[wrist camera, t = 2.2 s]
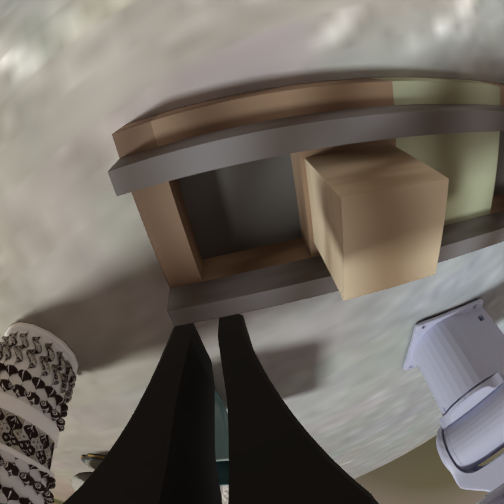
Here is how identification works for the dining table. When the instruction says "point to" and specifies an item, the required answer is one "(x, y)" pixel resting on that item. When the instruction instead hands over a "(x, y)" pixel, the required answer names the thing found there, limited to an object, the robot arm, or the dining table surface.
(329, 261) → the maple block
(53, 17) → the dining table surface
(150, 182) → the trap box
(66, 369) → the black and white cylinder
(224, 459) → the flower pot
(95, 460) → the apothecary jar
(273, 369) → the dining table surface
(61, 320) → the dining table surface
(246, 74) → the dining table surface
